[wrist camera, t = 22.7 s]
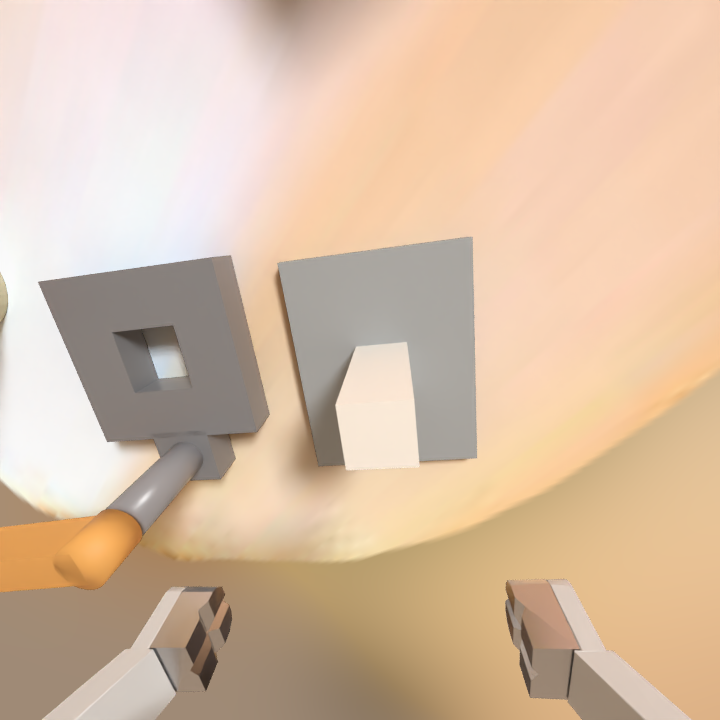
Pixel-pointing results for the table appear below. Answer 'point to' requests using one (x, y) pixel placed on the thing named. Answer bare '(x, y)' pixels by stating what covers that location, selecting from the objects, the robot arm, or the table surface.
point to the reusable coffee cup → (3, 298)
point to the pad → (389, 336)
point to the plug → (378, 409)
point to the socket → (138, 375)
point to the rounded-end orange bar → (66, 551)
